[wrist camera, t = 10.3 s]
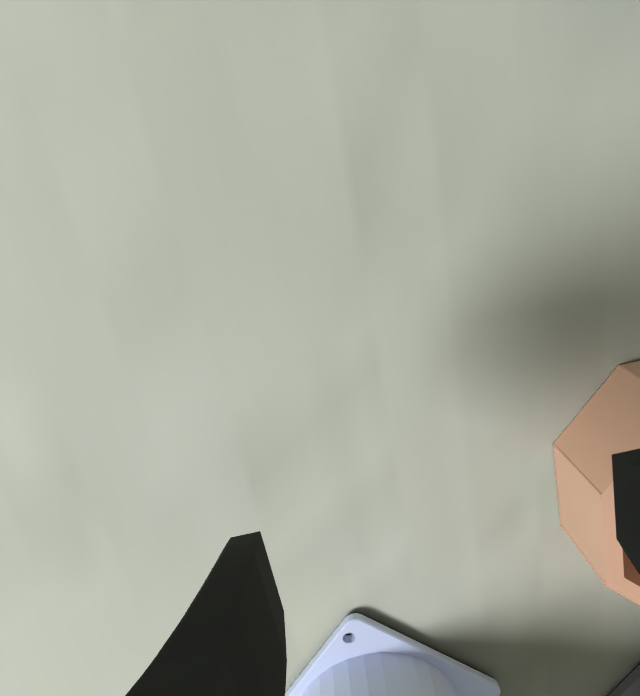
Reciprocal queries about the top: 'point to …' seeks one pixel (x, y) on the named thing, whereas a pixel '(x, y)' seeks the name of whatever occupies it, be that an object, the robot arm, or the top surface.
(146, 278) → the top surface
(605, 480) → the bowl
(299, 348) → the top surface
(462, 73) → the top surface
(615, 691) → the mat
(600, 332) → the top surface
